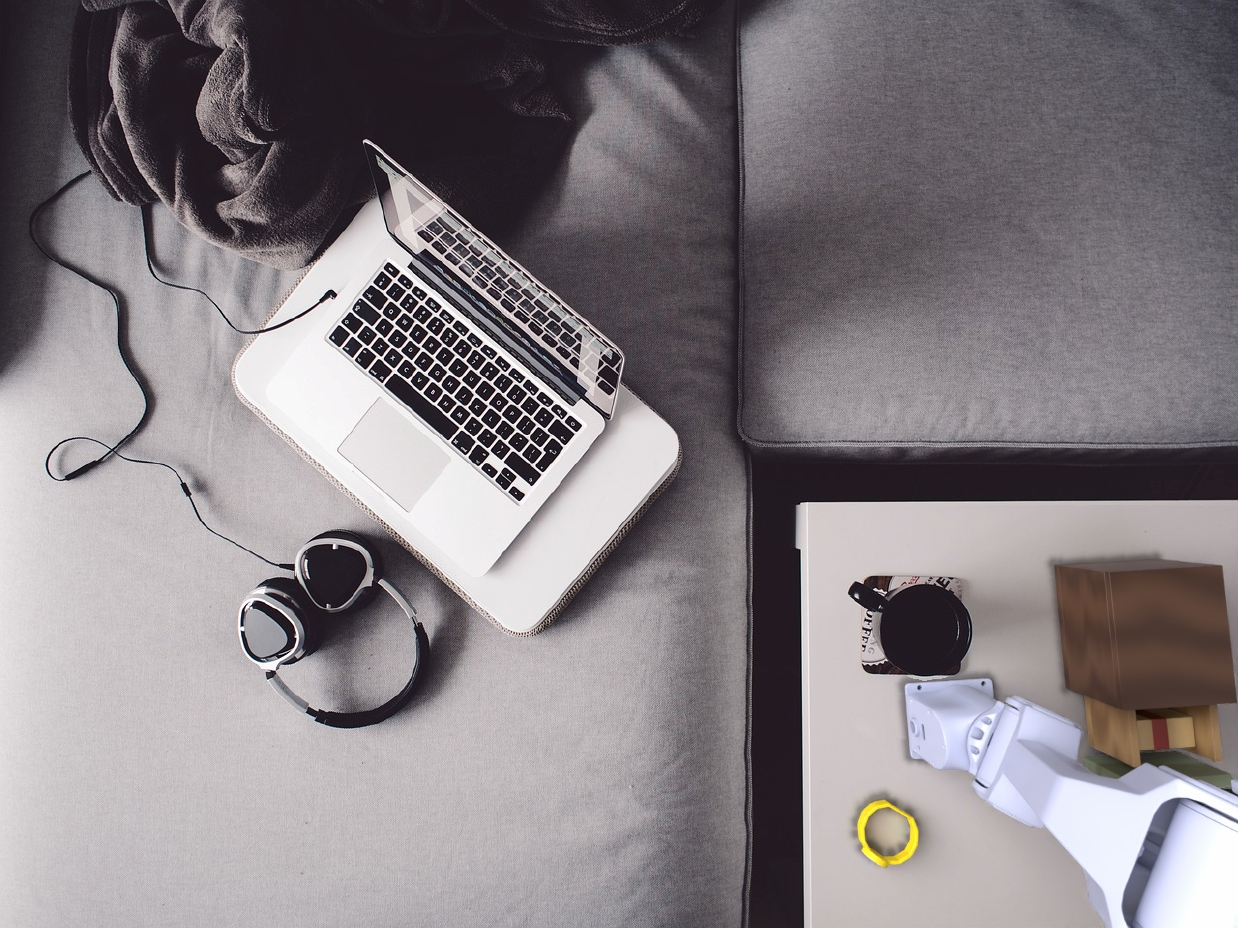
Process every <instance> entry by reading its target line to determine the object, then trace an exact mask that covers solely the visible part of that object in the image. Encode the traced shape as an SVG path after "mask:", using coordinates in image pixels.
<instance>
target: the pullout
mask: <svg viewBox="0 0 1238 928" xmlns="http://www.w3.org/2000/svg"><path fill="white" fill-rule="evenodd" d="M1083 697H1084V698H1083V699H1084V707H1085V717H1086V729H1087V737H1088V746H1089V747H1091V748H1094V749H1096V750H1098V751H1099V752H1101V753H1104V755H1103V754H1102V755H1088V756H1083V757H1082V760H1083V766H1084V767H1086V768H1087V769H1089V770H1090V771H1092V772H1093V773H1095V774H1096V775H1099V776H1104V777H1109V778H1113V779H1119V778H1121V777H1122V776H1124V775H1126V774H1127V773H1129V772H1131V771H1132V770H1134V769H1136V768H1137V767H1139V766H1141V765H1143V764H1144V763H1149V764H1151V765H1153V766H1156V767H1158V768H1159V766H1163V765H1164V766H1167V767H1169V768H1171V769H1173V770H1175V771H1177V772H1179V773H1182V774H1184V775H1186V776H1188V777H1190V778H1192V779H1195V780H1202V781H1205V782H1207V783H1209V784H1211V785H1213V786H1216V787H1218V788H1232V786H1231V780H1233V774H1232V773H1230V772H1227V771H1224V770H1223V769H1220V768H1218V767H1215V766H1213V765H1211V764H1209V763H1206V762H1204V761H1202V760H1199V759H1197V758H1194V757H1192V756H1189V755H1187V754H1185V753H1183V752H1180V751H1178V750H1159V751H1147V752H1140V751H1139V741H1138V731H1137V721H1136V712H1135V710H1125V711H1123V710H1120V709H1118V708H1115V707H1113V706H1110V705H1108V704H1105V703H1103V702H1100V701H1098V700H1095V699H1093V698H1090V697H1087V696H1085V695H1083ZM1168 709H1171V710H1174V711H1177V712H1180V713H1182V714H1185V715H1188V716H1191V717H1192V718H1193V728H1194V737H1195V747H1186V748H1183V749H1184V750H1186V751H1188V752H1191V753H1194V754H1196V755H1198V756H1201V757H1203V758H1205V759H1207V760H1211V761H1213V762H1215V763H1220V762H1223V761H1224V757H1223V749H1222V739H1221V731H1220V722H1219V713H1218V712H1219V711H1218V704H1216V705H1201V706H1186V707H1170V708H1168Z"/></svg>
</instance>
